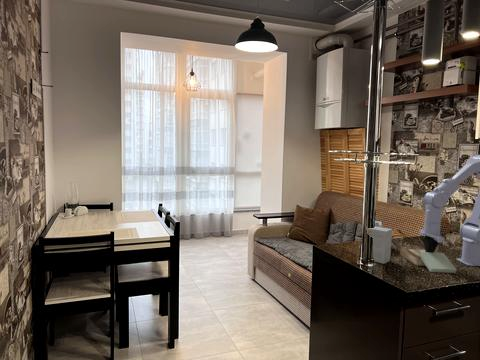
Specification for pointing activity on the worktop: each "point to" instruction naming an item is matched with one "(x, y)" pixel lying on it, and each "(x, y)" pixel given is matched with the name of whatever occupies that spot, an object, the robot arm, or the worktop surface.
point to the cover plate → (437, 262)
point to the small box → (381, 243)
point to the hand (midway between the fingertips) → (429, 255)
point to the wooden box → (414, 256)
